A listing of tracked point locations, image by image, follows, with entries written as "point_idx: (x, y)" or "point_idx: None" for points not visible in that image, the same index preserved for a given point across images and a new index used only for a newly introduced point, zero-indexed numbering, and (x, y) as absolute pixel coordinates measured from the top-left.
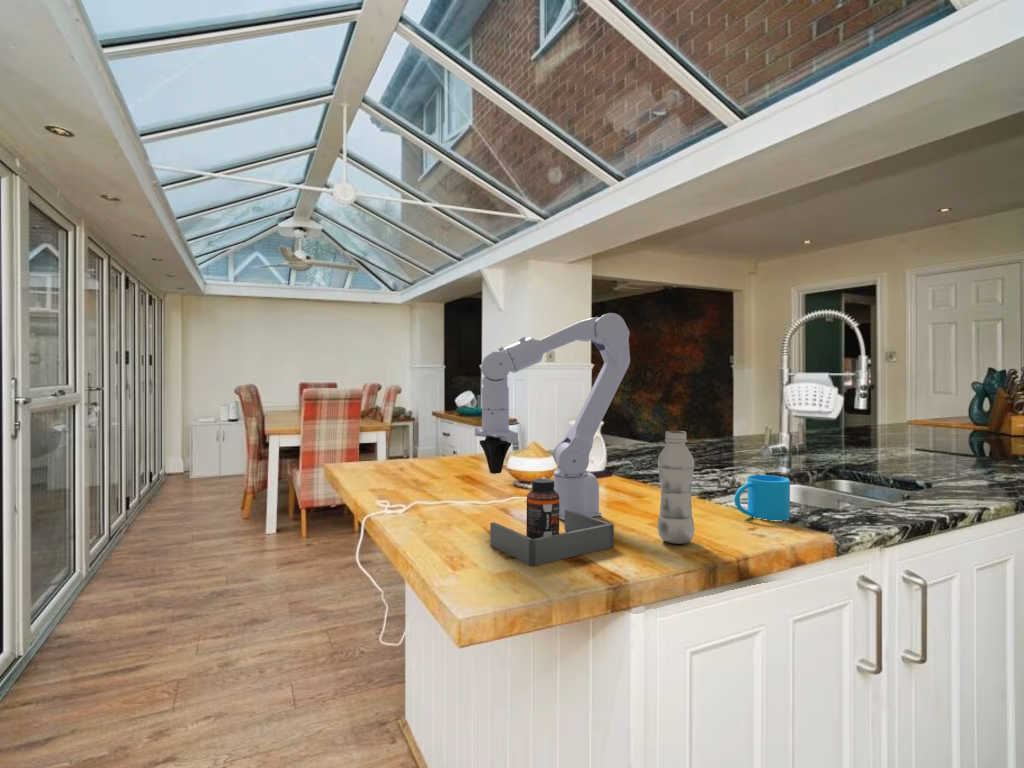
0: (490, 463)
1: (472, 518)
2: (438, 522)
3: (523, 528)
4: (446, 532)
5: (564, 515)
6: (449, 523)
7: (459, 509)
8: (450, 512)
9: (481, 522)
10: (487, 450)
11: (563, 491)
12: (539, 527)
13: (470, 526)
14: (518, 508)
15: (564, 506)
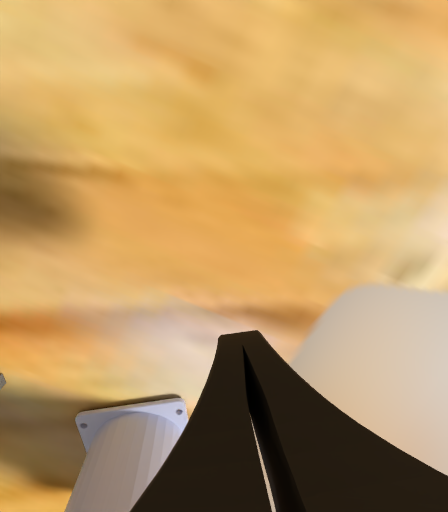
0: (235, 369)
1: (243, 186)
2: (253, 38)
3: (60, 285)
4: (101, 9)
5: (106, 424)
6: (219, 76)
7: (379, 191)
8: (361, 143)
9: (180, 194)
10: (287, 463)
11: (81, 500)
12: None
13: (147, 136)
14: None
15: (96, 449)
